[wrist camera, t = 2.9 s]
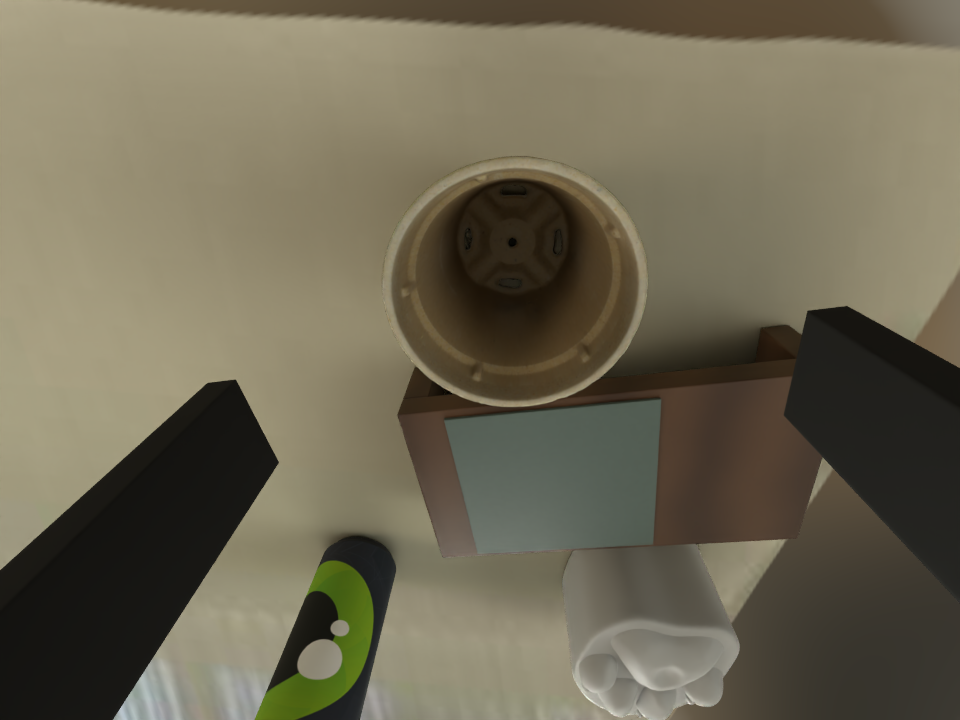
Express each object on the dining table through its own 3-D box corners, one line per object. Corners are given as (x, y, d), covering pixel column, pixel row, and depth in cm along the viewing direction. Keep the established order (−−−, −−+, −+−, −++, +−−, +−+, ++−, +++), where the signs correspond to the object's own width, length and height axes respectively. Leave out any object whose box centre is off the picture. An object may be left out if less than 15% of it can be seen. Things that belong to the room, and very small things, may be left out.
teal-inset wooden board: (788, 324, 24) (853, 372, 20) (756, 478, 30) (800, 541, 26) (414, 366, 27) (395, 417, 23) (450, 499, 33) (442, 561, 28)
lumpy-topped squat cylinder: (713, 537, 33) (773, 660, 26) (659, 628, 40) (695, 747, 32) (581, 521, 33) (603, 640, 26) (549, 614, 40) (558, 731, 32)
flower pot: (466, 342, 26) (450, 434, 18) (390, 190, 22) (330, 229, 14) (620, 286, 24) (673, 366, 16) (569, 105, 20) (608, 99, 12)
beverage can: (374, 586, 39) (308, 822, 26) (314, 557, 37) (211, 793, 24) (412, 554, 36) (359, 798, 23) (348, 521, 35) (253, 764, 22)
